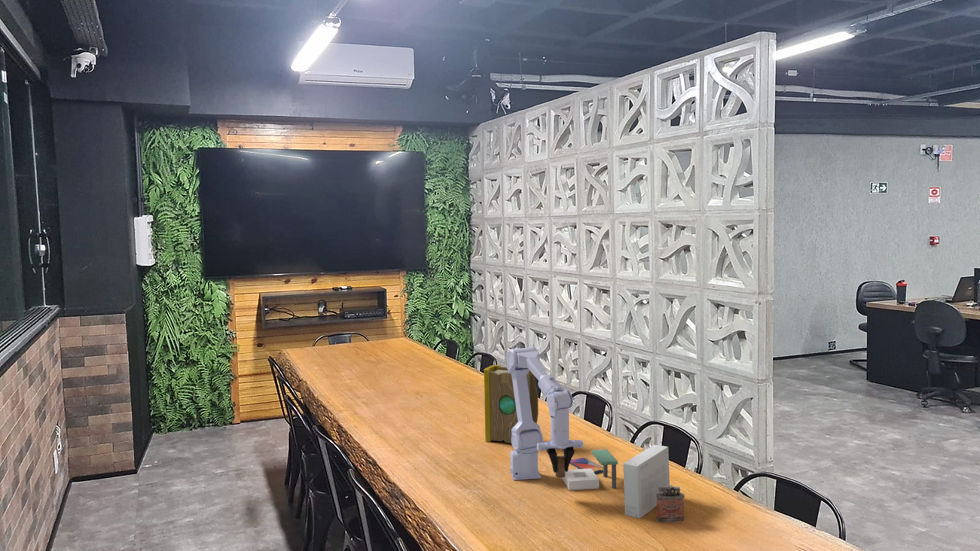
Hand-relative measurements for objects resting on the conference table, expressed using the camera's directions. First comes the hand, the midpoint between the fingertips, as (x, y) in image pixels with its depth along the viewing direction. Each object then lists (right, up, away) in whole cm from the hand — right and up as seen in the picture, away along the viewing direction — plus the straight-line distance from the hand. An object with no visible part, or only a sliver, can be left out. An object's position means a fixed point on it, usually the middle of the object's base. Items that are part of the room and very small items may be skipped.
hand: (560, 471), depth 216 cm
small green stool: (+16, -7, +12) cm, 21 cm away
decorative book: (-14, -5, +57) cm, 59 cm away
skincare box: (+26, -9, -7) cm, 28 cm away
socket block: (+8, -7, +11) cm, 16 cm away
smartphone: (+12, -7, +27) cm, 30 cm away
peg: (0, -2, 0) cm, 2 cm away
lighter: (+30, -9, -17) cm, 36 cm away
